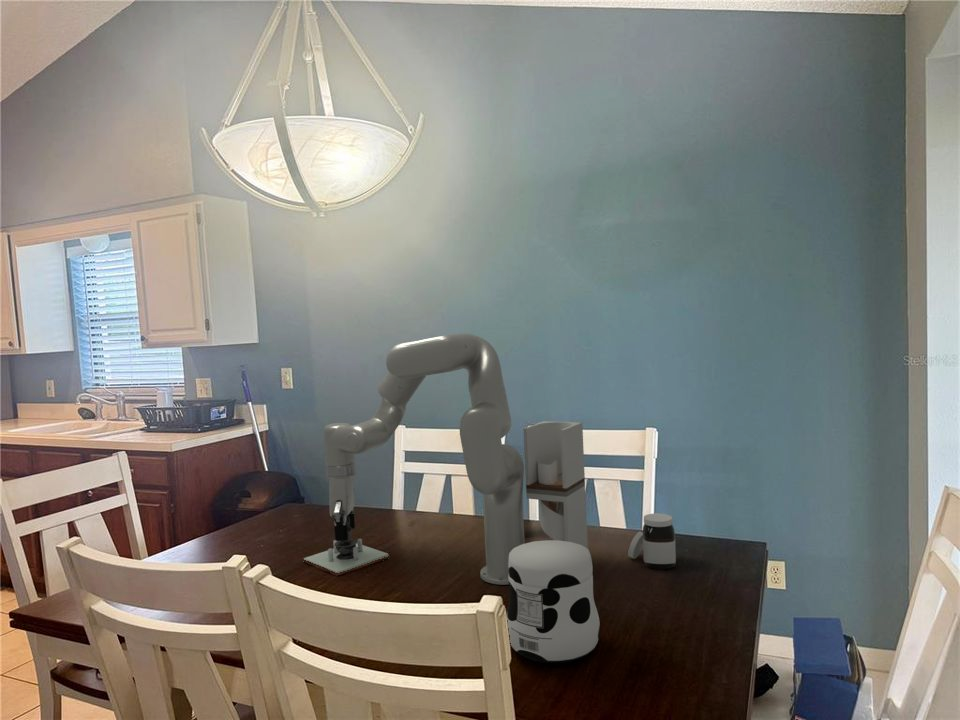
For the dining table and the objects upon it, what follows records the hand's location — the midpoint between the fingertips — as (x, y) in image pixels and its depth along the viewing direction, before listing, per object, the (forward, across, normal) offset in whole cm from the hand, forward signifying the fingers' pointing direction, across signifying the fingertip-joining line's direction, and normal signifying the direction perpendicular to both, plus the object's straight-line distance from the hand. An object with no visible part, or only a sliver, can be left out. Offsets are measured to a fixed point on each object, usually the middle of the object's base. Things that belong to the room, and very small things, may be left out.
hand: (345, 534), depth 178 cm
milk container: (+8, +53, +48) cm, 72 cm away
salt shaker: (+6, 0, 0) cm, 6 cm away
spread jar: (+8, +13, +78) cm, 79 cm away
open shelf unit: (+8, +11, +55) cm, 56 cm away
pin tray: (+7, 0, 0) cm, 7 cm away
